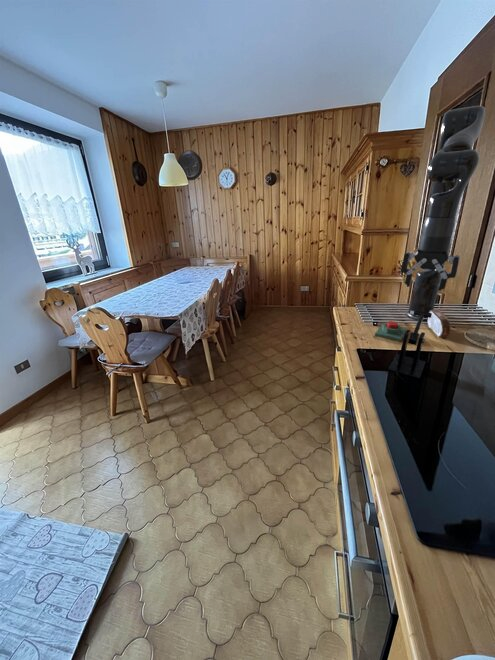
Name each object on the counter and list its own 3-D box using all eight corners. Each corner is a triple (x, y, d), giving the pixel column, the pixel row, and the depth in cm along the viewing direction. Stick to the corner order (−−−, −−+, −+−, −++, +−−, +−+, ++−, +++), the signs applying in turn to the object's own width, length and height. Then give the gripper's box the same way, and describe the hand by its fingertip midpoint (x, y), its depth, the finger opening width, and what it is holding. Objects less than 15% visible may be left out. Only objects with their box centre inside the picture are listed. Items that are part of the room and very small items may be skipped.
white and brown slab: (447, 342, 106) (453, 321, 102) (438, 341, 106) (444, 321, 103) (432, 324, 119) (437, 306, 115) (424, 324, 119) (428, 306, 116)
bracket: (395, 356, 99) (402, 323, 93) (425, 364, 94) (434, 330, 88) (387, 371, 91) (394, 337, 86) (418, 381, 86) (428, 344, 81)
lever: (414, 313, 95) (415, 308, 93) (431, 316, 92) (432, 311, 91) (403, 342, 89) (403, 337, 88) (421, 346, 87) (421, 341, 85)
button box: (382, 327, 119) (383, 318, 117) (405, 332, 114) (407, 323, 112) (374, 337, 112) (376, 328, 110) (399, 343, 106) (401, 334, 105)
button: (388, 324, 114) (388, 320, 113) (398, 326, 111) (398, 322, 111) (385, 327, 111) (386, 323, 110) (395, 330, 109) (396, 326, 108)
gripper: (468, 232, 79) (452, 288, 86) (411, 230, 87) (401, 281, 94) (466, 237, 73) (449, 295, 81) (405, 234, 82) (395, 288, 89)
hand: (423, 288), depth 87 cm, fingers open, 8 cm apart
